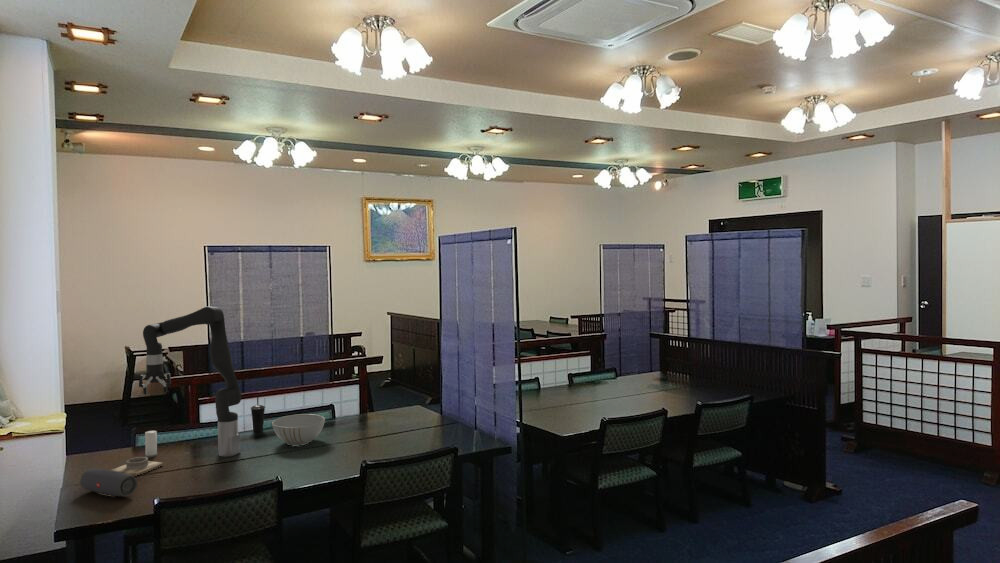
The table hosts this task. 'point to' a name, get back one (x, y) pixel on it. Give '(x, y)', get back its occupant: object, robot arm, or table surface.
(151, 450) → the duct sleeve
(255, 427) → the drinking cup
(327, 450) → the table surface
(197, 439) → the table surface
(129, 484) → the bluetooth speaker
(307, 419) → the decorative bowl
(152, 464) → the duct base
